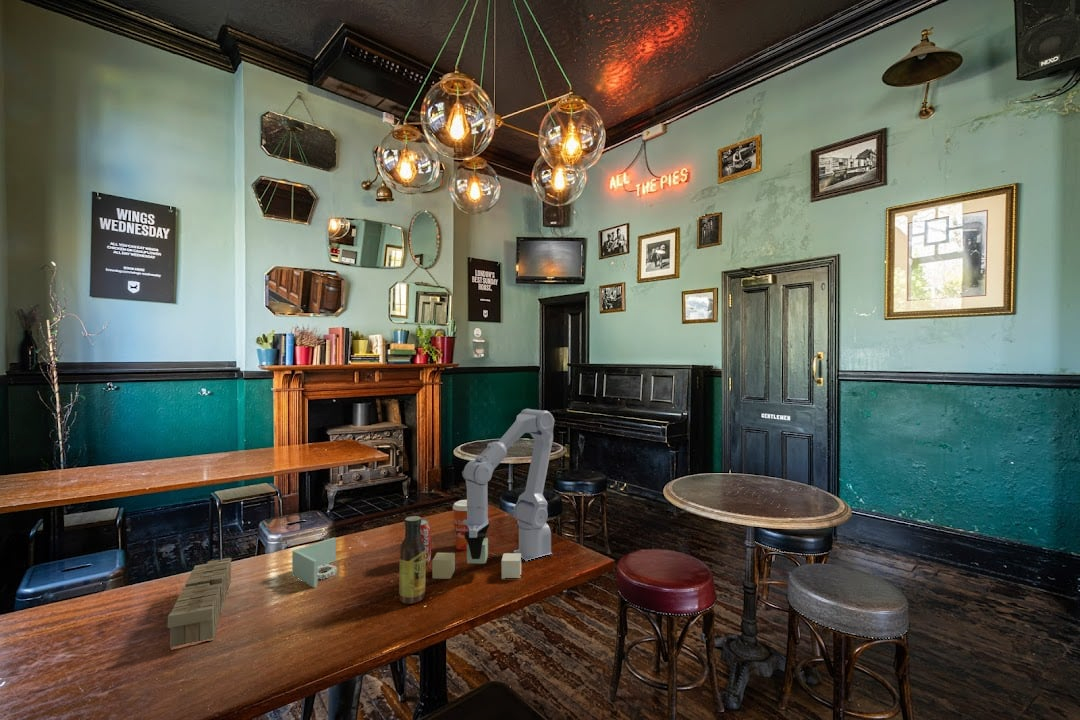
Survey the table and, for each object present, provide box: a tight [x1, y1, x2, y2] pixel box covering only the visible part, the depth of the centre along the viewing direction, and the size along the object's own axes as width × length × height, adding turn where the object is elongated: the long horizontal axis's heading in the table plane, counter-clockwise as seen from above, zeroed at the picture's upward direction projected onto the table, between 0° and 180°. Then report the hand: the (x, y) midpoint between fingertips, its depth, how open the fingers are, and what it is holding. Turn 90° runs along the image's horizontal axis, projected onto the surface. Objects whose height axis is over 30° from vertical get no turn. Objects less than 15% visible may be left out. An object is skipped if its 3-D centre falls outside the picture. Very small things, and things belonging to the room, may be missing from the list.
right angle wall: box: [291, 537, 338, 588], centre depth 129 cm, size 12×12×8 cm
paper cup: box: [452, 499, 469, 551], centre depth 147 cm, size 8×8×14 cm
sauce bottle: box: [398, 515, 427, 605], centre depth 115 cm, size 7×6×20 cm
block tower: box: [167, 557, 232, 648], centre depth 108 cm, size 8×8×29 cm
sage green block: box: [466, 537, 489, 564], centre depth 128 cm, size 5×5×5 cm
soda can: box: [421, 518, 432, 564], centre depth 136 cm, size 7×7×12 cm
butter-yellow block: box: [431, 552, 456, 580], centre depth 128 cm, size 5×5×5 cm
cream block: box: [500, 552, 522, 580], centre depth 128 cm, size 5×5×5 cm
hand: (477, 554), depth 128 cm, fingers closed on sage green block, 5 cm apart
